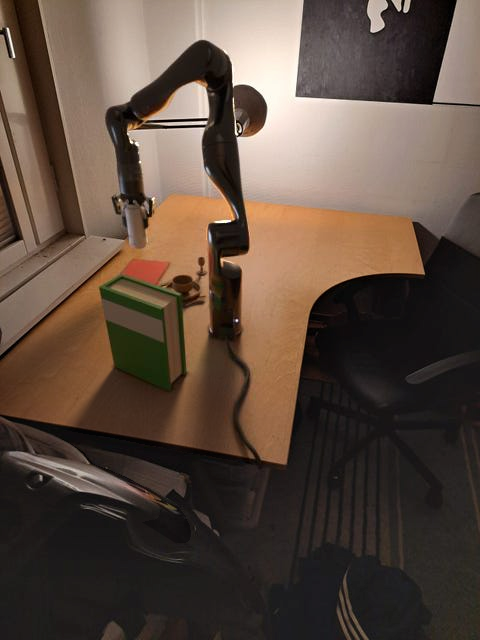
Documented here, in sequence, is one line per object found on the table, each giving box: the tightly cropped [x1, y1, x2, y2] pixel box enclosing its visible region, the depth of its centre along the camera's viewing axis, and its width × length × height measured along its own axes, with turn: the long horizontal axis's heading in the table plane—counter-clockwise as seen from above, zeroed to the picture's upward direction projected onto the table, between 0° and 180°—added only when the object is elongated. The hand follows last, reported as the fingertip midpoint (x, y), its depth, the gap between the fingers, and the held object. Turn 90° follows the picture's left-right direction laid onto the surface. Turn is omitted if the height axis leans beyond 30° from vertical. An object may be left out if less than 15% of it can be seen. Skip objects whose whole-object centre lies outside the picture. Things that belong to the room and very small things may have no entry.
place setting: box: [159, 256, 207, 308], centre depth 141 cm, size 18×20×6 cm
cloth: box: [121, 259, 170, 285], centre depth 150 cm, size 20×14×1 cm
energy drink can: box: [125, 204, 149, 250], centre depth 139 cm, size 6×6×15 cm
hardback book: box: [98, 273, 187, 392], centre depth 102 cm, size 18×7×24 cm, turn 61°
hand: (136, 227), depth 140 cm, fingers closed on energy drink can, 6 cm apart
